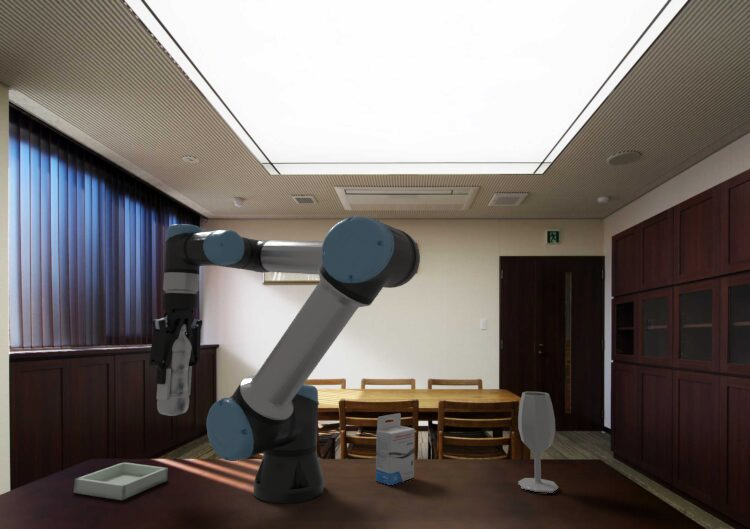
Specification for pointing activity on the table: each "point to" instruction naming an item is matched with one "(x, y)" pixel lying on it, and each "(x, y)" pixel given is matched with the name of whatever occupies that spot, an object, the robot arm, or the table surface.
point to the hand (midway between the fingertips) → (173, 396)
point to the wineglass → (536, 435)
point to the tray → (120, 480)
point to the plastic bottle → (178, 377)
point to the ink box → (394, 450)
